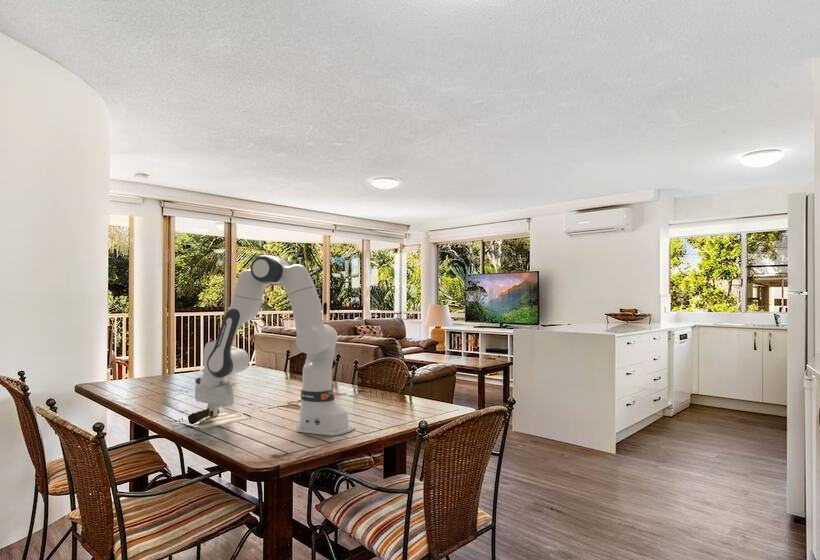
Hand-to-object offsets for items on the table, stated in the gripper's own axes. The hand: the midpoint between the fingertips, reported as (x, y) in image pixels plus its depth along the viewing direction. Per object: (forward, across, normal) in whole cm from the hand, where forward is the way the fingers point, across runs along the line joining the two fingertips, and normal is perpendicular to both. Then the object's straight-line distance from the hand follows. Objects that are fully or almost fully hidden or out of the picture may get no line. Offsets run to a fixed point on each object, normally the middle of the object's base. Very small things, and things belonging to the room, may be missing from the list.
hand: (213, 415), depth 197 cm
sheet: (+2, +5, 0) cm, 5 cm away
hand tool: (+2, +3, +1) cm, 4 cm away
